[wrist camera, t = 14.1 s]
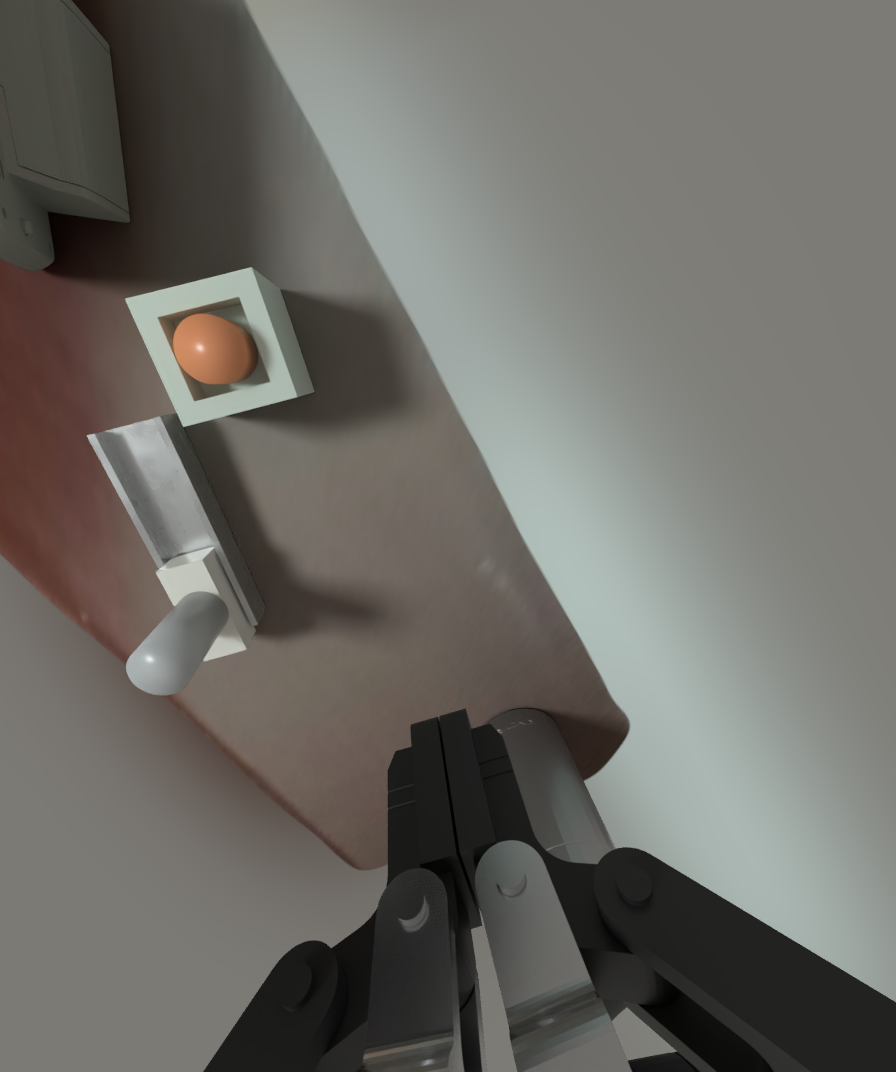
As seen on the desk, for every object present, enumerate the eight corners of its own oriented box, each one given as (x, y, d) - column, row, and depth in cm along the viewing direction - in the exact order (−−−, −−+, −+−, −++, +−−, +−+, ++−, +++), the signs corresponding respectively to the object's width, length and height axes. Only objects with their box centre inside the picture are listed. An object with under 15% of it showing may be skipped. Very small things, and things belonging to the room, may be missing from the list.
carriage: (257, 630, 38) (216, 712, 29) (215, 642, 38) (160, 728, 28) (216, 545, 35) (157, 607, 26) (171, 558, 35) (95, 624, 26)
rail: (266, 608, 39) (257, 624, 36) (209, 623, 39) (197, 641, 36) (177, 412, 33) (159, 416, 30) (109, 430, 33) (86, 435, 30)
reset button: (266, 374, 28) (253, 375, 25) (210, 389, 28) (191, 391, 25) (243, 312, 27) (227, 305, 24) (184, 327, 27) (161, 322, 24)
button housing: (314, 391, 34) (297, 397, 27) (223, 416, 33) (183, 426, 27) (280, 288, 31) (251, 267, 24) (180, 314, 31) (124, 299, 24)
